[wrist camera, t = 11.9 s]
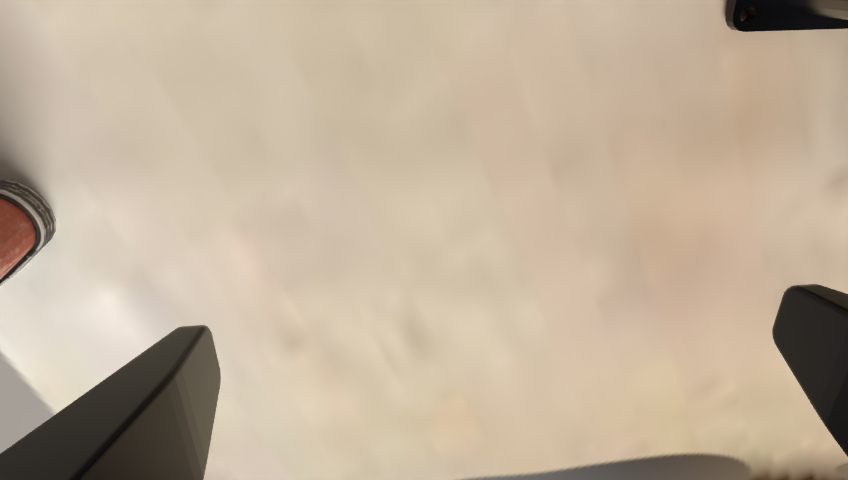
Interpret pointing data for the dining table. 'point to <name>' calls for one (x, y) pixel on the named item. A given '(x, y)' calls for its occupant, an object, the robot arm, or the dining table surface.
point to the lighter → (22, 227)
